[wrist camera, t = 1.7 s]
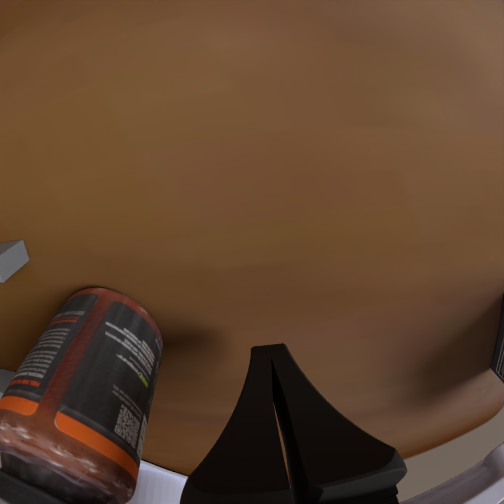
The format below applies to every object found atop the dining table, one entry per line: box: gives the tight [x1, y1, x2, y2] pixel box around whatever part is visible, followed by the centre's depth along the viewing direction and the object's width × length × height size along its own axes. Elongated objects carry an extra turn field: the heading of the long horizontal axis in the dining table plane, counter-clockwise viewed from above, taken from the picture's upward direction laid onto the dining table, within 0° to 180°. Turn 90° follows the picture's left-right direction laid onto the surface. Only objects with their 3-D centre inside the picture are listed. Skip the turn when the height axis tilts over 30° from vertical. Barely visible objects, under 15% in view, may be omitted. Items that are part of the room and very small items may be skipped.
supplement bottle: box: [0, 287, 163, 504], centre depth 9 cm, size 6×6×11 cm
